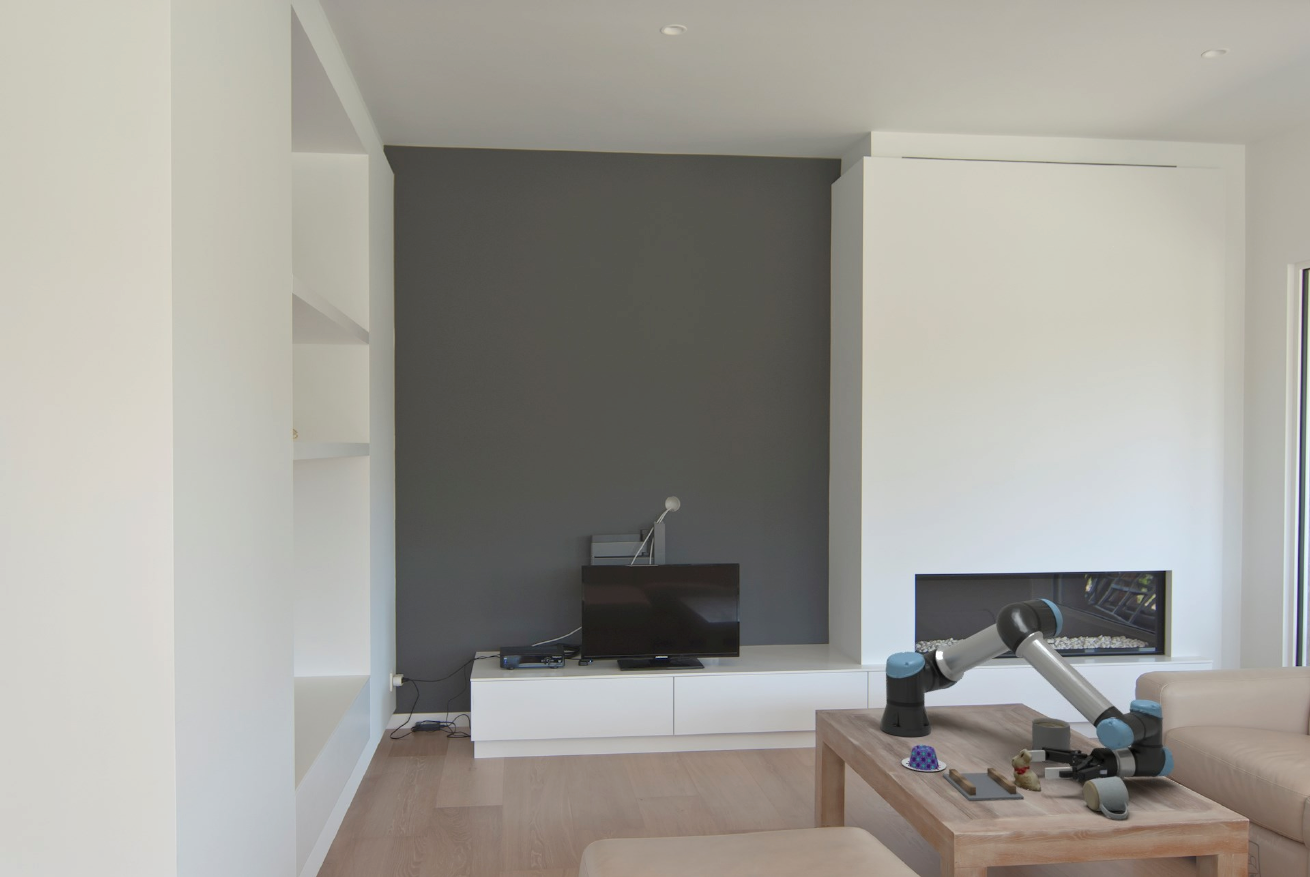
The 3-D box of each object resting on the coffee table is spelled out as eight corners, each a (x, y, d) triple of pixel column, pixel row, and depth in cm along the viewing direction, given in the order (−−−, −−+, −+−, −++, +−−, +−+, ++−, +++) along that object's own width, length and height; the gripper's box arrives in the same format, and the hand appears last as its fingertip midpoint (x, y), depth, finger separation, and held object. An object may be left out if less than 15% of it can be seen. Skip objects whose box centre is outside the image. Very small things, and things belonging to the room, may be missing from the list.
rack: (949, 776, 253) (949, 768, 253) (992, 775, 254) (992, 767, 254) (970, 795, 239) (970, 787, 239) (1016, 794, 240) (1016, 786, 240)
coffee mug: (1051, 765, 263) (1051, 729, 263) (1024, 755, 272) (1024, 720, 273) (1087, 759, 269) (1087, 723, 269) (1059, 749, 278) (1059, 714, 278)
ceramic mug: (1080, 804, 234) (1080, 773, 234) (1112, 803, 235) (1112, 772, 235) (1104, 821, 224) (1104, 789, 224) (1137, 820, 225) (1137, 788, 224)
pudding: (893, 761, 268) (893, 742, 268) (932, 758, 271) (932, 739, 271) (914, 775, 257) (914, 756, 257) (954, 772, 259) (954, 752, 259)
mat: (942, 776, 255) (942, 774, 255) (993, 774, 256) (993, 772, 256) (969, 800, 237) (969, 798, 237) (1023, 799, 238) (1023, 796, 238)
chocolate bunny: (1030, 780, 251) (1030, 743, 251) (1043, 791, 243) (1043, 752, 244) (1010, 781, 251) (1009, 743, 251) (1022, 791, 243) (1021, 752, 243)
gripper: (1139, 794, 236) (1056, 796, 234) (1086, 761, 261) (1011, 763, 259) (1138, 763, 236) (1056, 766, 234) (1086, 734, 261) (1011, 736, 259)
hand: (1032, 764), depth 247 cm, fingers open, 13 cm apart
